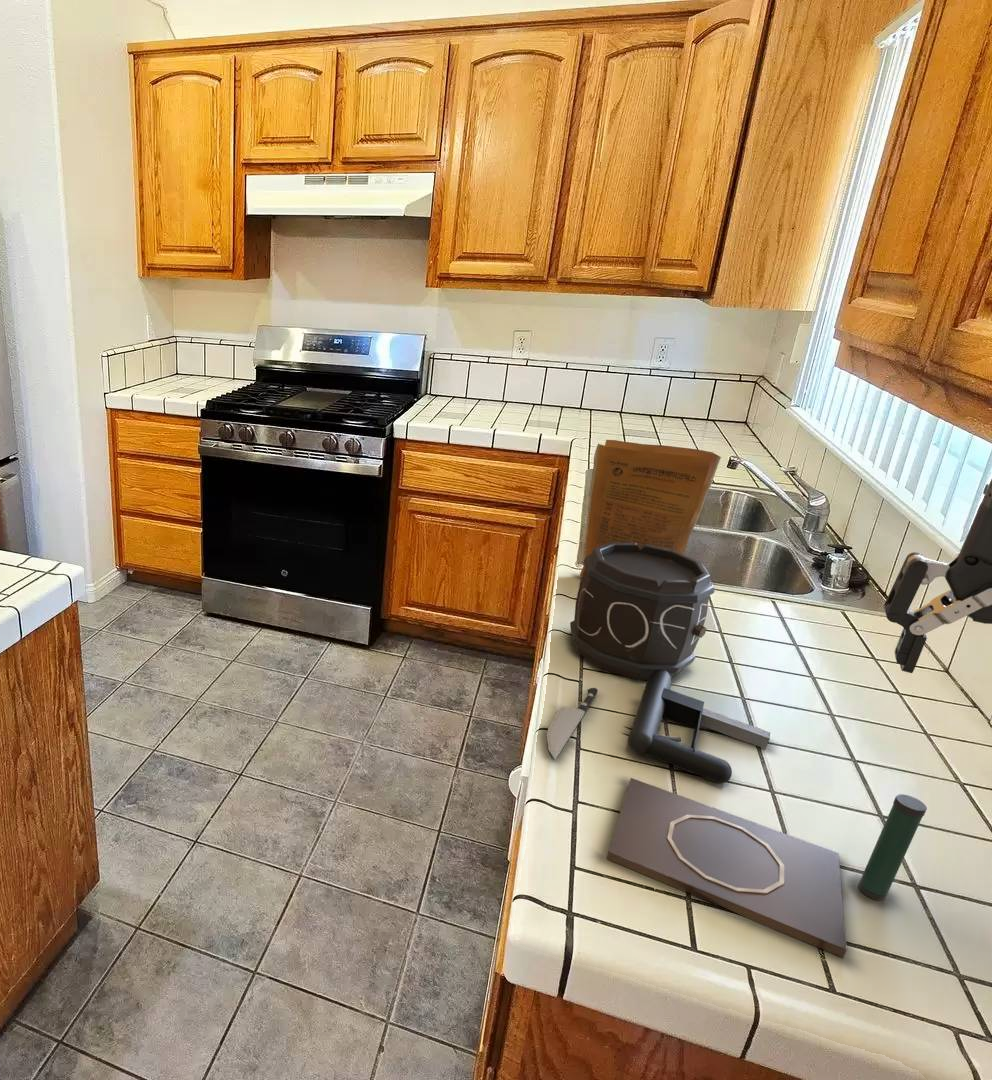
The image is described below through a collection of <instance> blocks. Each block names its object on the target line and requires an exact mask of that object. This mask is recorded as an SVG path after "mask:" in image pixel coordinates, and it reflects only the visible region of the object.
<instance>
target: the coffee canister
mask: <svg viewBox="0 0 992 1080" xmlns="http://www.w3.org/2000/svg"><path fill="white" fill-rule="evenodd" d="M584 565H585V570H584V573H583V576H582V577H581V579H580V581H579V585H578V590H577V593H576V594H577V595H576V600H575V605H574V606H575V607H574V617H573V620H572V621H570V622H569V628H570V633H571V637H572V641H573V645H574V646H575V648H576V652H577V654H578V655H580V656H581V657H582V658H584V659H585V660H587V661H588V662H589V663H591V664H593V665H594V666H595V667H597V668H599V669H600V670H602V671H606V672H609V673H613V674H616V675H620V676H622V677H626V678H629V679H632V680H636V681H637V680H638V681H645V680H646V681H647V680H648V678H649V676H650V675H651V674H652V673H653V672H654V671H655V670H659V669H661V670H665V671H667V672H668V673H669V674H670V676H671V679H673V678H674V677H675V676H676V675H678V674H680V673H681V672H683V671H684V670H685V668H687V667H688V666H689V665H691V664H692V663H693V662H694V661H695V659H696V656H695V653H694V652H695V649H696V647H697V645H698V642H699V640H700V639H702V638H703V637H704V636H705V635H706V632H707V627H705V626H704V625H705V622H706V619H707V614H708V608H709V600H710V596H712V595H713V594H714V593H715V586H714V585H713V582H712V581H711V574H710V573H709V572H708V570H707V569H706V567H705V566H704V564H703V563H702V562H701V561H699V560H697V559H694V558H693V557H690V556H689V555H687V554H685V553H684V554H682V553H679V552H677V551H675V550H671V549H667V548H662V547H658V546H653V545H649V544H644V545H643V546H642V547H641V548H640V549H639V548H638V545H637V543H631V542H610V543H607V544H605V545H602V546H600V547H597V548H595V549H594V550H593V552H592V554H591V555H588V556H586V557H585V556H584V559H583V566H584ZM642 676H644V677H642ZM645 677H647V678H645Z"/></svg>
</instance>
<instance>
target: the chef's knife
mask: <svg viewBox="0 0 992 1080" xmlns="http://www.w3.org/2000/svg"><path fill="white" fill-rule="evenodd" d="M586 692H587V693H586V696H585V698H584V699H583V701H581V703H580V705H579V706H578V707H571V706H570V707H569V706H560V708H559V710H558V711H557V713H556V714H555V716H554V718H553V720H552V721H551V723H550V724H549V726H548V729H547V732H546V741H547V748H548V751H549V754H551V756H552V757H553V759H554V760H556V759H557V758H558V756H559V754H561V752H562V750H563V749H564V748H565V745H566V744H567V743H568V741H569V739H570V738H571V736H572V734H573V733H574V732H575V730H576V728H577V727H578V726H579V724H580V723H581V721H582V719H583V717H584V716H585V714H586V712H587V710H588V709H589V707H590V705H591V704H592V702H593V701H594V700H595V698H596V696H597V694H598V692H599V691H598V688H597V687H589V688H588V689H587V690H586Z"/></svg>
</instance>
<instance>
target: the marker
mask: <svg viewBox="0 0 992 1080" xmlns="http://www.w3.org/2000/svg"><path fill="white" fill-rule="evenodd" d="M927 811H928V807H927V806H926V803H924V802H923V801H921V800H920V799H918V798H916V797H914V796H911V795H908V794H903V793H900V794H897V795H895V797H894V799H893V804H892V806H891V808H890V810H889V813H888V815H887V818H886V820H885V822H884V825H883V827H882V829H881V832H880V834H879V835H878V837H877V841H876V843H875V844H874V847H873V850H872V852H871V855H870V856H869V859H868V862H867V864H866V866H865V868H864V871H863V873H862V876H861V877H860V879H859V882H858V885H857V886H858V890H859V891H860V892H861V893H862V894H864V895H865V896H866V897H868V898H870V899H873V900H875V901H884V900H885V899H886V898H887V896H888V893H889V891H890V889H891V887H892V884H893V883H894V880H895V878H896V876H897V874H898V872H899V869H900V867H901V866H902V863H903V861H904V859H905V856H906V854H907V852H908V849H909V847H910V845H911V843H912V841H913V839H914V837H915V835H916V832H917V830H918V828H919V826H920V823H921V821H922V819H923V817H924V816H925V814H926V812H927Z"/></svg>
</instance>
